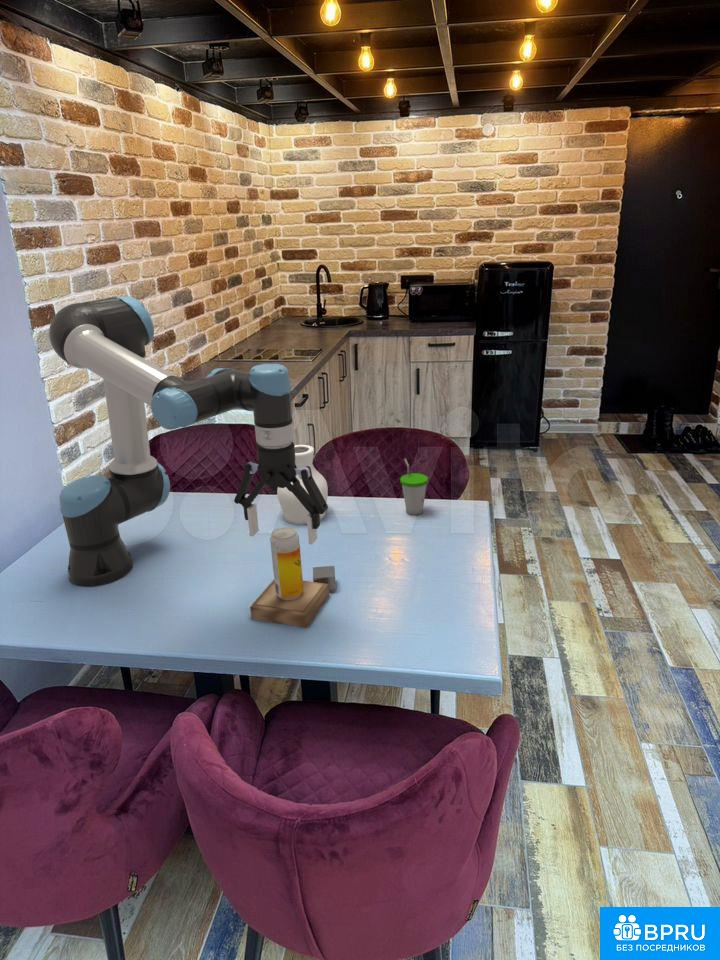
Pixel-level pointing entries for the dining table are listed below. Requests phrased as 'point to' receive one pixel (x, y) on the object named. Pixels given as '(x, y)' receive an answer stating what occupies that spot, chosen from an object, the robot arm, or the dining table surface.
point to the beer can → (286, 563)
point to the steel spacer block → (325, 576)
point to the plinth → (290, 605)
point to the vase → (288, 500)
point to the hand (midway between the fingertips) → (283, 537)
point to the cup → (414, 491)
